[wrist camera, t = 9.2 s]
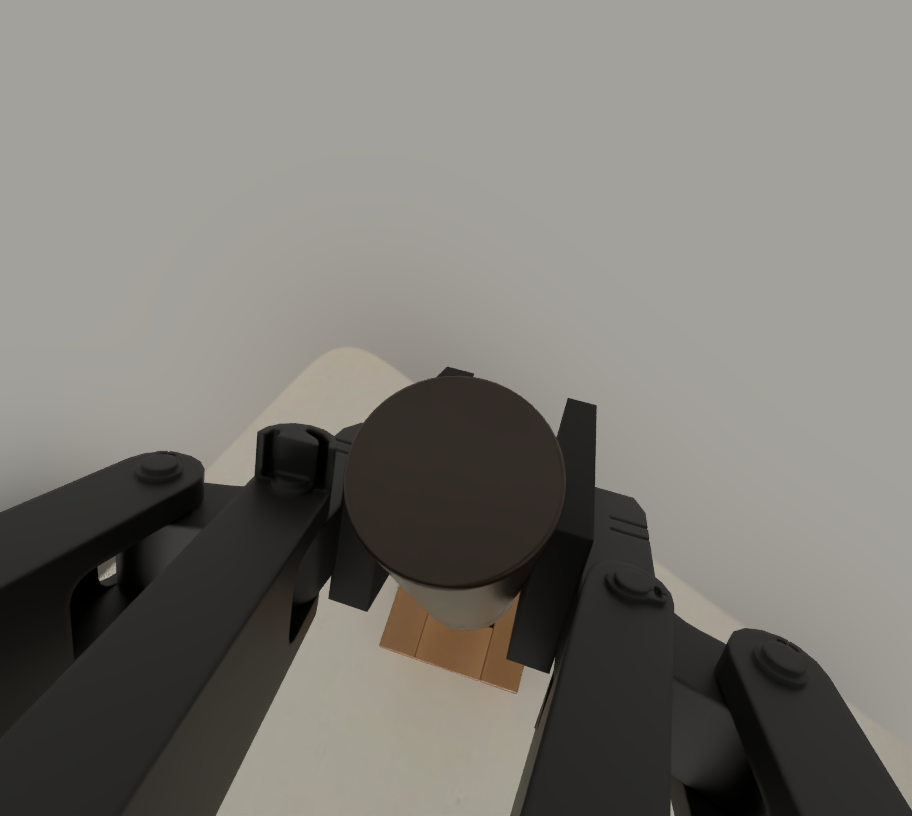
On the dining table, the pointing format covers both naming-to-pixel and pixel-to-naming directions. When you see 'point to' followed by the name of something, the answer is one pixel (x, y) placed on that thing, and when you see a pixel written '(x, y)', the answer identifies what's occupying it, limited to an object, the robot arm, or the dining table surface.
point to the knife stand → (453, 644)
